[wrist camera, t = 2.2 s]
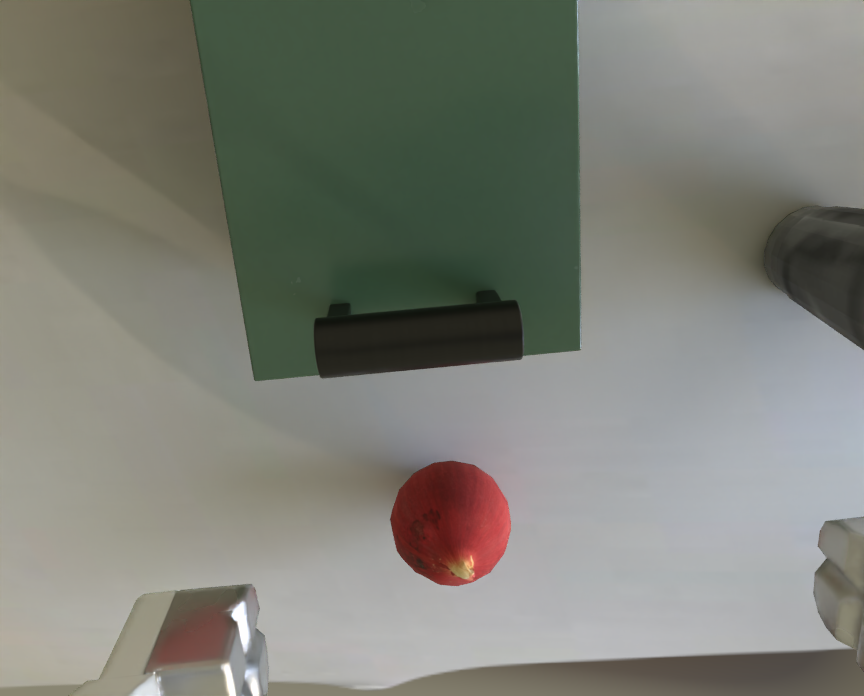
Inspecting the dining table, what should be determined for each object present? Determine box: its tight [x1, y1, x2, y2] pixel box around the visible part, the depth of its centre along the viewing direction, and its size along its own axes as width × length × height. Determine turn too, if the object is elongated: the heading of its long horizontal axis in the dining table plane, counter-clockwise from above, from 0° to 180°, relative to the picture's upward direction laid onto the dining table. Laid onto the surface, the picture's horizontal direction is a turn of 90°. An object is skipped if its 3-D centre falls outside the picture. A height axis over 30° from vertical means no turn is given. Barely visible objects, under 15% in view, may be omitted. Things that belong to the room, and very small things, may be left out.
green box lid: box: [190, 0, 581, 381], centre depth 21 cm, size 17×12×5 cm, turn 4°
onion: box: [390, 461, 511, 586], centre depth 36 cm, size 6×6×8 cm
